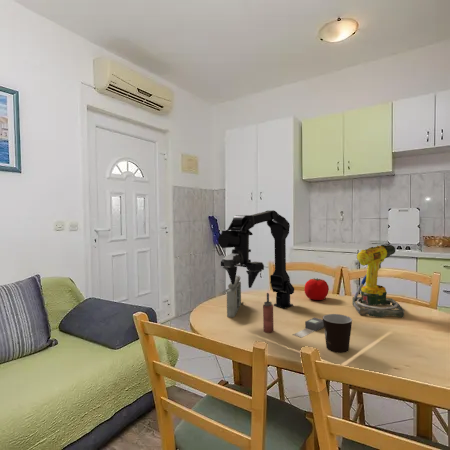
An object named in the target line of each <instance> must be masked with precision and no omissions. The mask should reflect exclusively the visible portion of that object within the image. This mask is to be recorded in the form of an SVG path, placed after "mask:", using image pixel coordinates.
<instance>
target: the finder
mask: <svg viewBox="0 0 450 450" xmlns="http://www.w3.org/2000/svg"><path fill="white" fill-rule="evenodd" d="M304 325H305V326H304V327H305V328H304V329H306V328H307V329H310V330H314V332H317V331H319V330H321V329H324V324H323V318H322V319H321V318H318V317H312V318H310V319H308V320H305V324H304Z"/></svg>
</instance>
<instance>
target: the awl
mask: <svg viewBox="0 0 450 450" xmlns="http://www.w3.org/2000/svg"><path fill="white" fill-rule="evenodd" d="M262 317H263V318H262V319H263V323H262V324H263V327H262V328H263V332H264V333H267V334H271V333H273V332H275V331H274V330H275V329H274V328H275V327H274V304H273V303H272V301H270V293H269V292H267V293H266V301H264V303H263V305H262Z"/></svg>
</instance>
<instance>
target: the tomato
mask: <svg viewBox="0 0 450 450" xmlns="http://www.w3.org/2000/svg"><path fill="white" fill-rule="evenodd" d="M303 290H304V294H305V296H306V298H308V299H310V300H312V301H314V300H315V301H323V300H324V299H326V298H327V296H328V295H329V292H330V291H329V290H330V287H329V285H328V282H327V281H326V280H325V279H322V278H310V279H309V280H307V281H306V282H305V285H304V289H303Z"/></svg>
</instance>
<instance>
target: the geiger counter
mask: <svg viewBox="0 0 450 450" xmlns="http://www.w3.org/2000/svg"><path fill="white" fill-rule="evenodd" d="M221 293H222V294H226V317H227V318H235V317H236V314H237V313H238V312H239V310H240V307H241V305H242V283H241V276H240V275H238V274H236V278H235V283H234V284H232V283H231V282H230V283H229V284H228V288H226V289H224V290H223V291H222V292H221Z"/></svg>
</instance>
